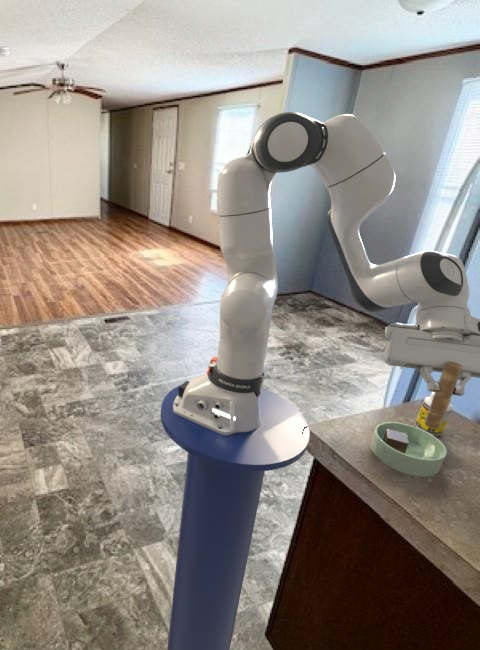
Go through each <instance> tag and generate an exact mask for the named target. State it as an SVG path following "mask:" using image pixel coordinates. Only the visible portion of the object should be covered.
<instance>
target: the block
mask: <svg viewBox="0 0 480 650" xmlns="http://www.w3.org/2000/svg"><path fill="white" fill-rule="evenodd" d="M383 441H384V442H385V443H386V444H387V445H389V446H390V447H392V448H394V449H395V450H397V451H399V452H402V453H404V454H405V452H406V449H407V446H408V437H407V434H405V433H402V432H398V431H394V430H390V429H386V432H385V435H384V438H383Z"/></svg>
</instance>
